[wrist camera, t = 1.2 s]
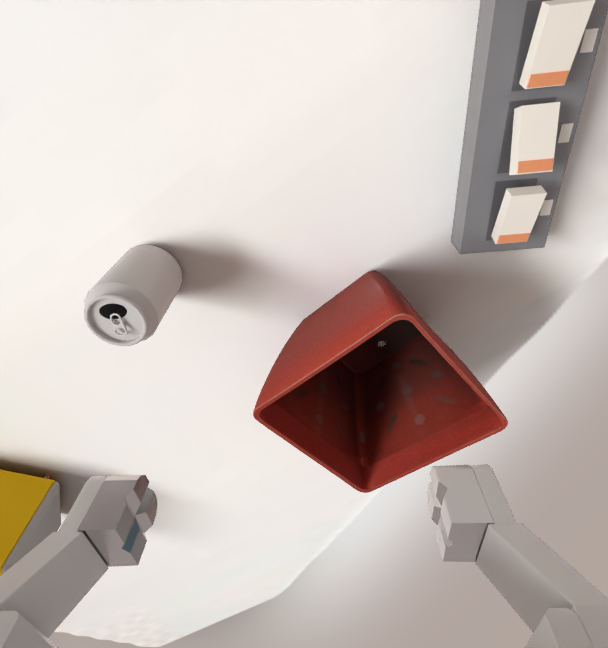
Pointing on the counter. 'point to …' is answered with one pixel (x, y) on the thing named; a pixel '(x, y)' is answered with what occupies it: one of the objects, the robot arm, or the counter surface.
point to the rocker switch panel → (497, 121)
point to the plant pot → (373, 389)
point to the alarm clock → (26, 514)
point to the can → (133, 296)
